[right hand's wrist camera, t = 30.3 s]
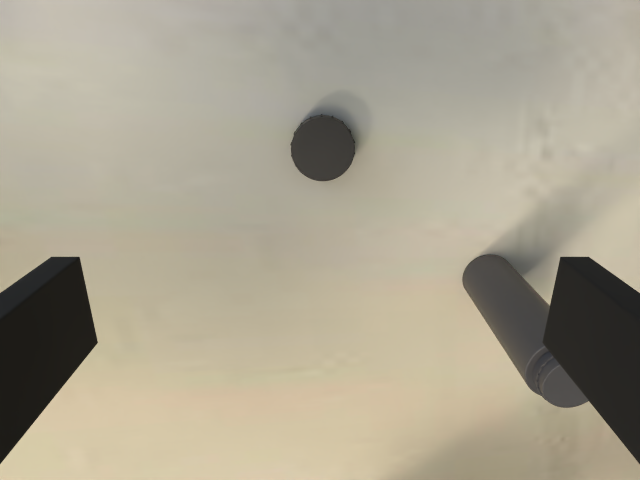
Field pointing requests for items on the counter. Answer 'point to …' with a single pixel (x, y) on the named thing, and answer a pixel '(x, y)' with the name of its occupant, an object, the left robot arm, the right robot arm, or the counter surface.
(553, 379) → the jar
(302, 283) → the counter surface
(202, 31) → the counter surface
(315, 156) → the lid
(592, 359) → the right robot arm
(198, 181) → the counter surface
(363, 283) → the counter surface
